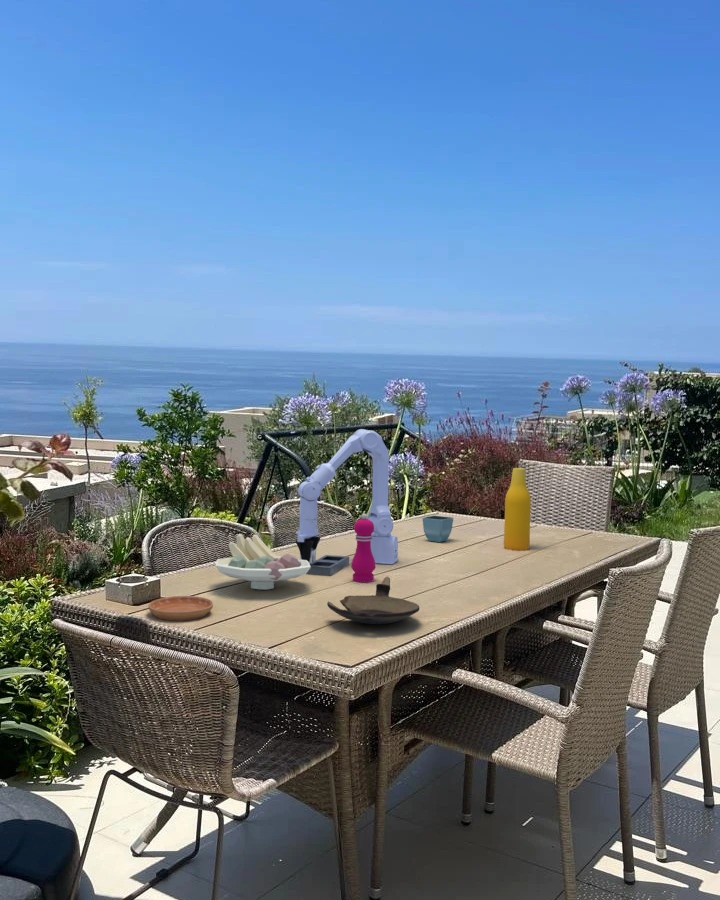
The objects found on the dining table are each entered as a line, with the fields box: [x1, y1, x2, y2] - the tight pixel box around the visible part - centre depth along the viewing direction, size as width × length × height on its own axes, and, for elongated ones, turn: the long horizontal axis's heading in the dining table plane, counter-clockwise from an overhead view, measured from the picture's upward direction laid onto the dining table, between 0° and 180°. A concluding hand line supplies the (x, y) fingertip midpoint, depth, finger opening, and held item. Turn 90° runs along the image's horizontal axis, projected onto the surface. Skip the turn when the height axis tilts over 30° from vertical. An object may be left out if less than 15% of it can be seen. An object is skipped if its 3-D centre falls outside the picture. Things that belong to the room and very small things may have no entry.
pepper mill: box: [351, 513, 376, 583], centre depth 270 cm, size 7×7×20 cm
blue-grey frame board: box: [305, 554, 350, 577], centre depth 286 cm, size 8×19×2 cm, turn 163°
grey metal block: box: [299, 548, 317, 564], centre depth 292 cm, size 4×4×5 cm
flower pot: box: [422, 515, 454, 543], centre depth 340 cm, size 9×9×9 cm
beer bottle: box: [503, 467, 532, 551], centre depth 327 cm, size 9×9×29 cm
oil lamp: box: [327, 576, 420, 625], centre depth 226 cm, size 22×30×8 cm
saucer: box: [148, 595, 214, 621], centre depth 228 cm, size 16×16×3 cm
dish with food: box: [215, 533, 311, 590], centre depth 258 cm, size 28×28×14 cm
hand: (307, 560), depth 292 cm, fingers closed on grey metal block, 4 cm apart
